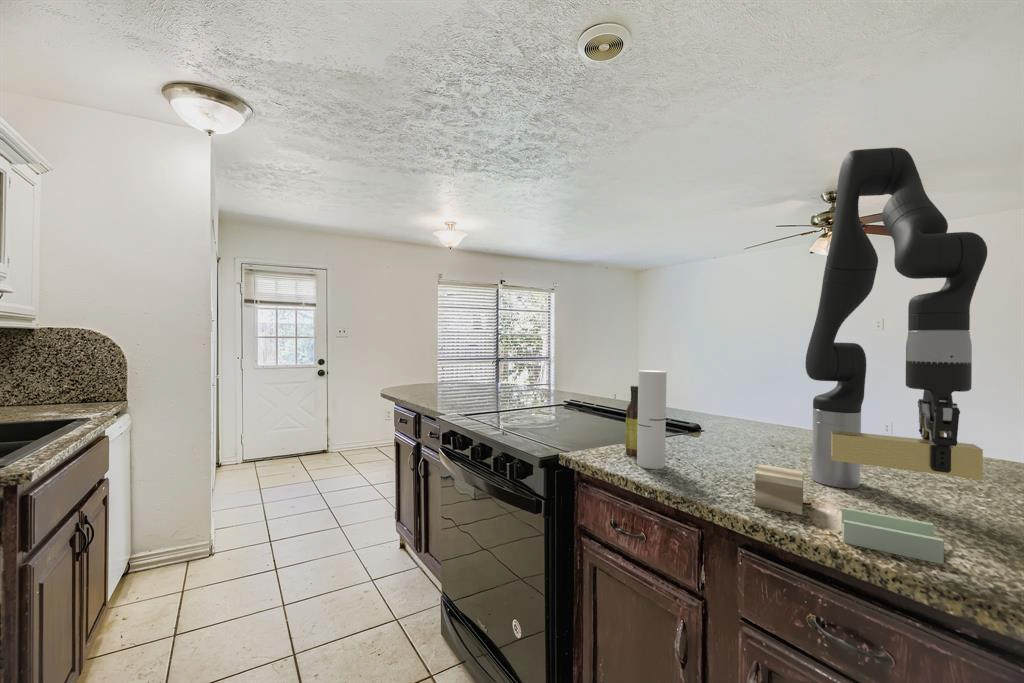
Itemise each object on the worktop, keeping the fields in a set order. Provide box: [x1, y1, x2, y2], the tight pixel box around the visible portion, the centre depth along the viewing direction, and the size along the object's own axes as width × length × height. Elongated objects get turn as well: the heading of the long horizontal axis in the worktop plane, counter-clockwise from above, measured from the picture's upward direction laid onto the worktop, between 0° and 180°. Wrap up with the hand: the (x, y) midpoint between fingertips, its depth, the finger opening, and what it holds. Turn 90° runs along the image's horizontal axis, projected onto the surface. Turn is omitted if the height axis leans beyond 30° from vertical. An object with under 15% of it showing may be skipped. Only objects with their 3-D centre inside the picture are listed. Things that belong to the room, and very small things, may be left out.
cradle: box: [840, 506, 945, 565], centre depth 73 cm, size 8×12×4 cm, turn 55°
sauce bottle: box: [624, 385, 638, 457], centre depth 129 cm, size 7×6×20 cm
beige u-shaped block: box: [754, 463, 804, 516], centre depth 90 cm, size 8×8×7 cm
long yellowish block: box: [831, 430, 984, 481], centre depth 72 cm, size 4×18×4 cm, turn 56°
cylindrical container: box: [636, 369, 668, 470], centre depth 118 cm, size 7×7×25 cm
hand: (936, 467), depth 70 cm, fingers closed on long yellowish block, 4 cm apart
